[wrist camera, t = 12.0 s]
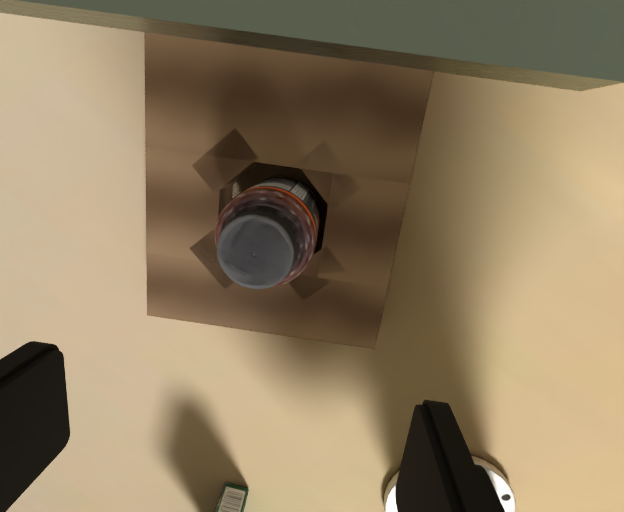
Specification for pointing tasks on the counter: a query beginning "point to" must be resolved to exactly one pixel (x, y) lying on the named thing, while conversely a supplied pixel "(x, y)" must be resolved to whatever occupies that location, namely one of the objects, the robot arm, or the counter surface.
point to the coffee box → (232, 498)
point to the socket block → (285, 152)
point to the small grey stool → (390, 32)
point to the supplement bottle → (268, 233)
